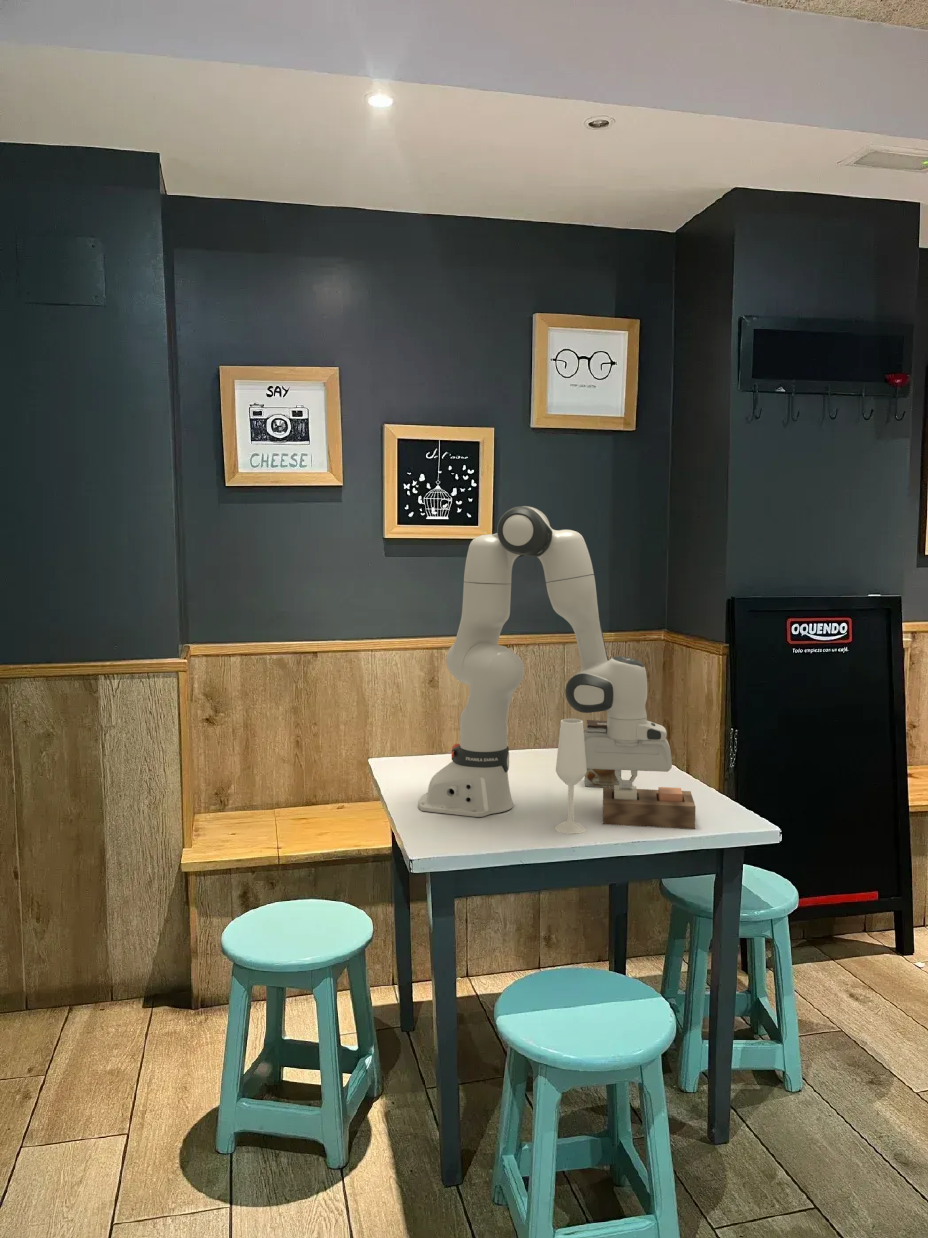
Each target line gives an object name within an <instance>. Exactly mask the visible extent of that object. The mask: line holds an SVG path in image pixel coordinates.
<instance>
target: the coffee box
mask: <svg viewBox="0 0 928 1238" xmlns="http://www.w3.org/2000/svg"><path fill="white" fill-rule="evenodd" d="M585 726H586V727H585V728H586V729H587V728H607V720H595V719H594V720H592V719H586V724H585ZM585 732H587V731H585ZM606 733H607V732H606ZM606 735H607V734H606ZM619 775H620V774H619ZM620 776H621V777H622V774H621V775H620ZM614 785H619V781H618V779H617V777H616V776H615V770H608V769H587V772H586V774H585V776H584V786H585V787H595V788H614Z"/></svg>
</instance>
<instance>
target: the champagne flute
mask: <svg viewBox="0 0 928 1238" xmlns="http://www.w3.org/2000/svg"><path fill="white" fill-rule="evenodd" d="M584 730H585V729H584V721H583V720H581V719H579V718H564V719H561V720H560V727H559V733H558V734H559V736H558V746H557V752H556V753H557V754H556V765H555V772H556V774H557V776H558V777H559V779H560V780H561V781H562V782H563V783H564V784H565V785H567V786H568V788H567V789H568V790H567V791H568V792H567V820H566V821H564V822H562V823H560V824H558V825H555V830H556V831H557V832H559V833H563V834H568V833H576V834H581V833H583V832H585V831H586V827H585V826H583V825H582V824H580V823H578V822H577V821H575V820H574V796H575V795H574V789H575V787H574V786H576V785H577V784H578V783H580V782H581V781H582V780H584V778H585V774H586V772H587V768H586V755H585V743H584Z"/></svg>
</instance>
